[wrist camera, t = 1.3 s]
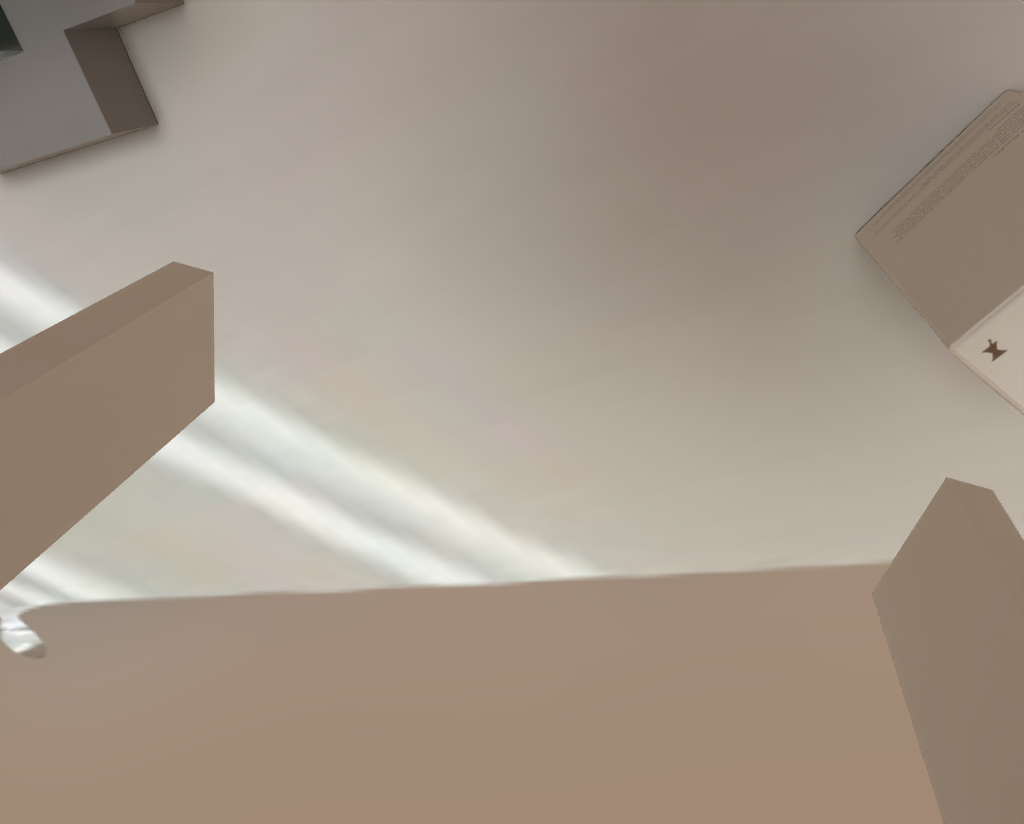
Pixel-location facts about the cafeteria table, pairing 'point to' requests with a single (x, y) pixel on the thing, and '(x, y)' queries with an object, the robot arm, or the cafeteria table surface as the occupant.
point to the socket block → (69, 77)
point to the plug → (7, 34)
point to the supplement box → (966, 245)
